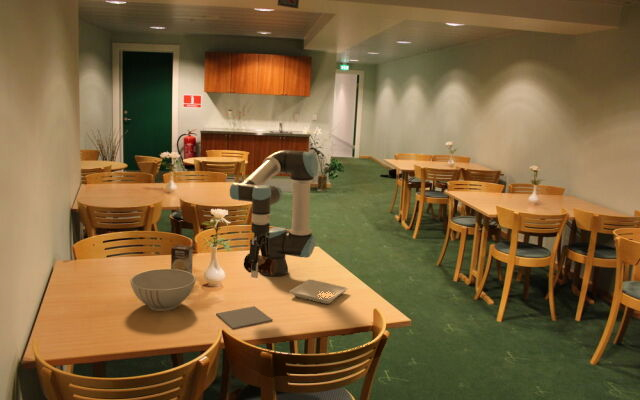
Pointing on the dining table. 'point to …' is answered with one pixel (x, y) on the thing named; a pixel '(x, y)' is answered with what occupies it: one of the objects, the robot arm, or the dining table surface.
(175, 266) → the coffee box
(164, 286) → the decorative bowl
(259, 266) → the coffee cup
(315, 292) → the salad plate
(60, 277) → the dining table surface
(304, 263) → the dining table surface
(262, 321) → the rubber mat
